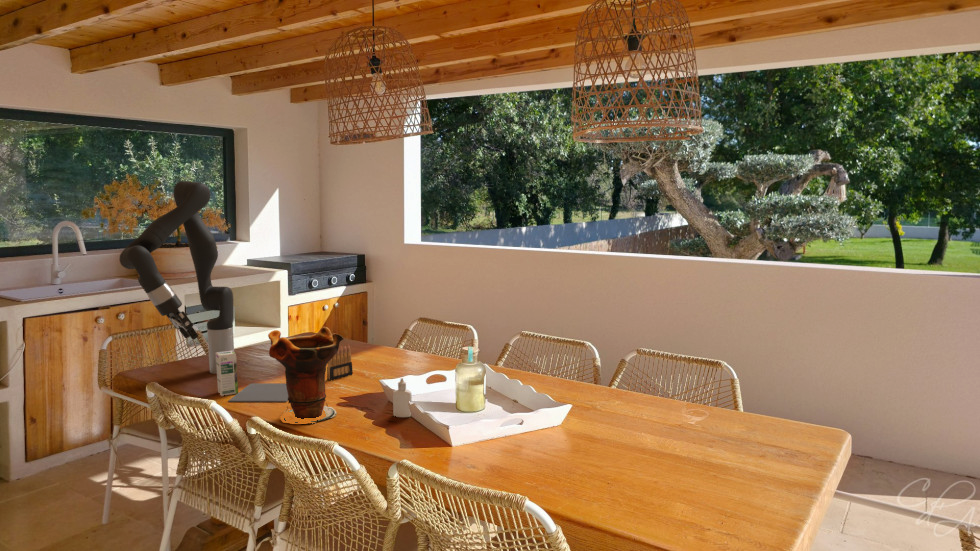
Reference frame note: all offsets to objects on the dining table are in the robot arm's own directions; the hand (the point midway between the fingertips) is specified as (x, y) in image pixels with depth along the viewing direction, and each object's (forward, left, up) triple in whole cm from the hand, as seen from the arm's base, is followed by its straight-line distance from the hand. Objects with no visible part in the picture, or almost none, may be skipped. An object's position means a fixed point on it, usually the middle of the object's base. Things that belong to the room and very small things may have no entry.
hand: (192, 337), depth 234 cm
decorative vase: (+23, +46, -20) cm, 55 cm away
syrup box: (0, +12, -20) cm, 23 cm away
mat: (0, +26, -20) cm, 32 cm away
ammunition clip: (-20, +46, -20) cm, 54 cm away
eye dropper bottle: (+23, +76, -20) cm, 82 cm away
